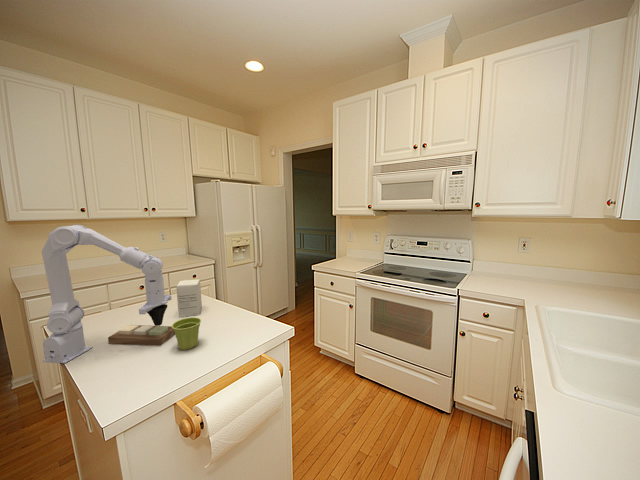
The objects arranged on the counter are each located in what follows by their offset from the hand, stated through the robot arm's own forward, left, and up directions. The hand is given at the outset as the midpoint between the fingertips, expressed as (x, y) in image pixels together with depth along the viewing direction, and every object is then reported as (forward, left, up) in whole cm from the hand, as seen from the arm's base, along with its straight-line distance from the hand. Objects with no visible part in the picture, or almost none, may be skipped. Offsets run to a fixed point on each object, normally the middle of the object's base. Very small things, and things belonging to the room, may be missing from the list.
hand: (158, 324), depth 97 cm
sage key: (0, 0, -4) cm, 4 cm away
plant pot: (-4, -14, -6) cm, 16 cm away
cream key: (0, +12, -4) cm, 13 cm away
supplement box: (+24, +2, -6) cm, 25 cm away
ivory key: (0, +6, -4) cm, 7 cm away
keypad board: (0, +6, -6) cm, 8 cm away
